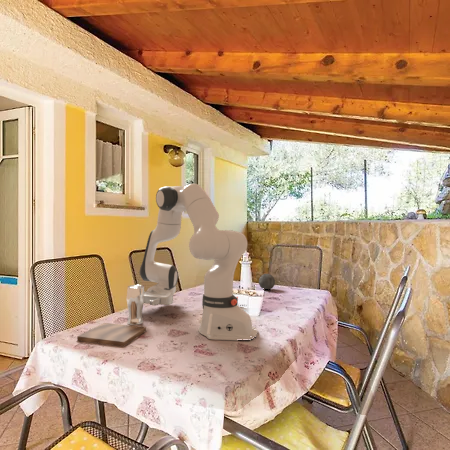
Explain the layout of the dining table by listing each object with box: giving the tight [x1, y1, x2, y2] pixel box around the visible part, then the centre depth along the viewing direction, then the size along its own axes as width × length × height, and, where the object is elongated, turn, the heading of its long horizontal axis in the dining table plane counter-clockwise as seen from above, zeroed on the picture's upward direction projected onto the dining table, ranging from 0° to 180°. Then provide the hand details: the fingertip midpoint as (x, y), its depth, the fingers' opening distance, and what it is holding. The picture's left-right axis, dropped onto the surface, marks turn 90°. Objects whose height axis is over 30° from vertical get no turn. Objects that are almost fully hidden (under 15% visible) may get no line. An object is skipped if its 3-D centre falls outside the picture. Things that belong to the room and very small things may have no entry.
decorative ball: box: [258, 273, 276, 290], centre depth 209 cm, size 10×10×10 cm
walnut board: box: [76, 322, 147, 347], centre depth 122 cm, size 18×16×2 cm
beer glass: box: [126, 284, 145, 326], centre depth 138 cm, size 7×7×15 cm
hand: (141, 302), depth 142 cm, fingers open, 8 cm apart
